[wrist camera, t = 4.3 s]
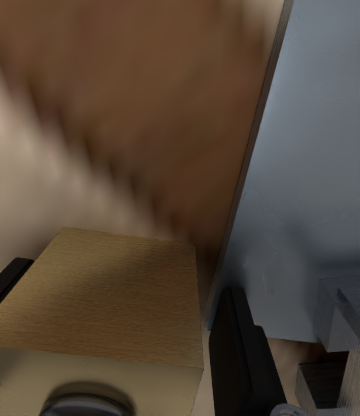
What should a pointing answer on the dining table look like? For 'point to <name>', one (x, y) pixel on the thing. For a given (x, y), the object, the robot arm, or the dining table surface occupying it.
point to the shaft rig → (304, 202)
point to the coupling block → (103, 329)
